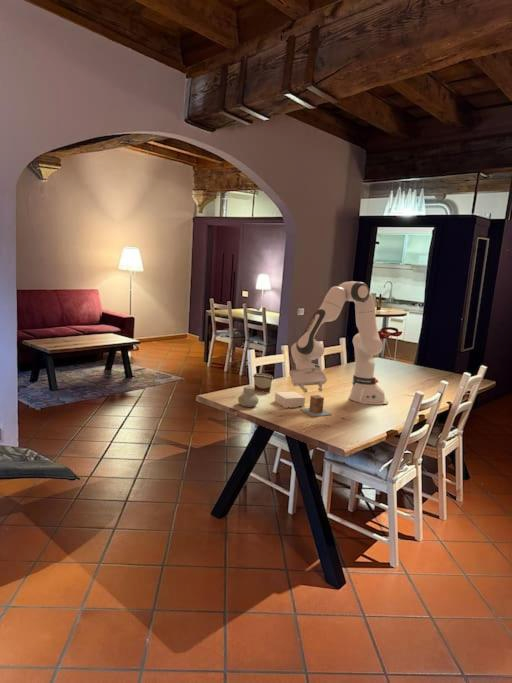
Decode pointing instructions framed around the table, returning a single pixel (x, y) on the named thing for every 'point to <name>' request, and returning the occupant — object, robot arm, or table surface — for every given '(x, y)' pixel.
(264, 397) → the table surface
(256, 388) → the food container
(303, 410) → the mat
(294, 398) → the block
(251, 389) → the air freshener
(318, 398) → the walnut block
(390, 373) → the table surface
